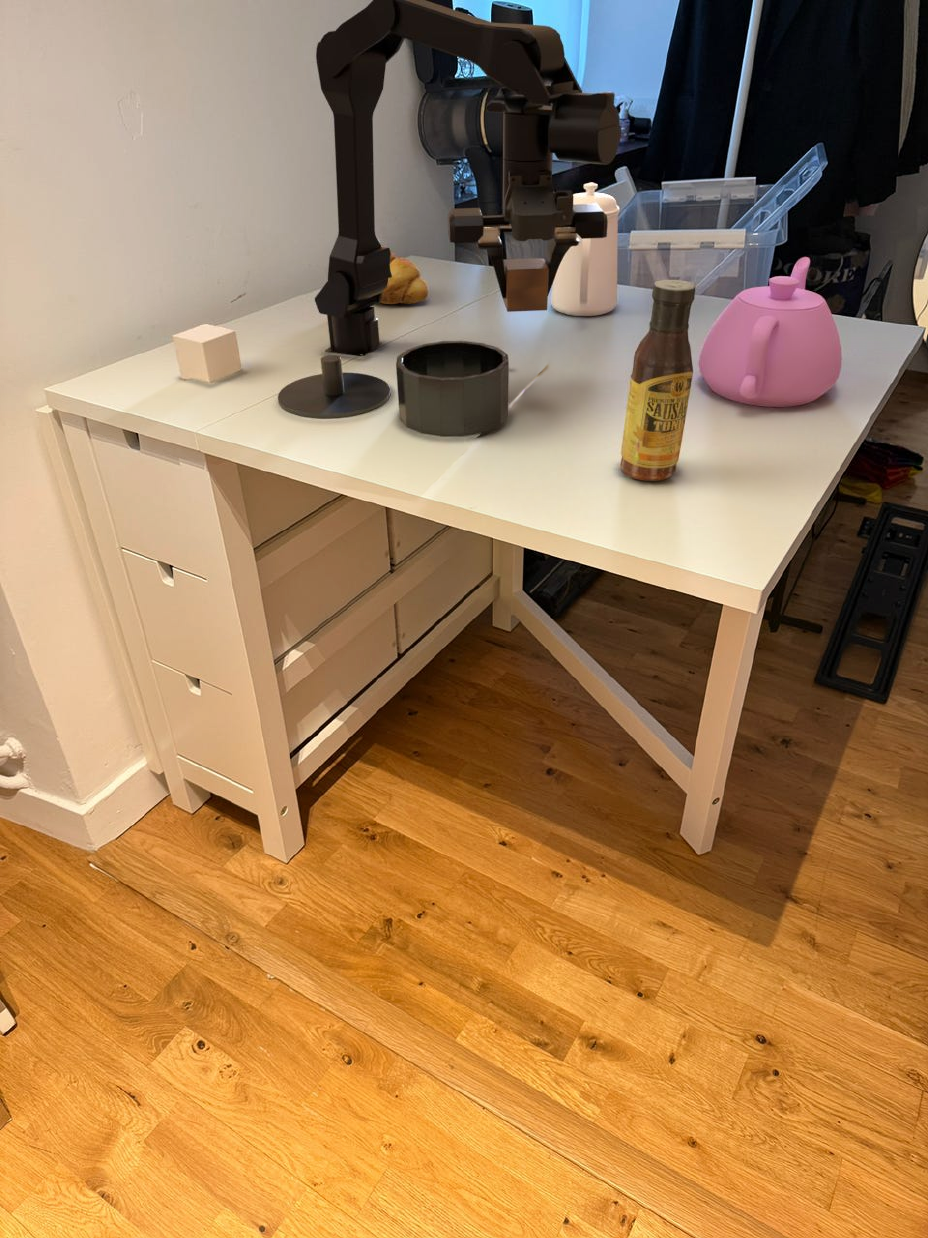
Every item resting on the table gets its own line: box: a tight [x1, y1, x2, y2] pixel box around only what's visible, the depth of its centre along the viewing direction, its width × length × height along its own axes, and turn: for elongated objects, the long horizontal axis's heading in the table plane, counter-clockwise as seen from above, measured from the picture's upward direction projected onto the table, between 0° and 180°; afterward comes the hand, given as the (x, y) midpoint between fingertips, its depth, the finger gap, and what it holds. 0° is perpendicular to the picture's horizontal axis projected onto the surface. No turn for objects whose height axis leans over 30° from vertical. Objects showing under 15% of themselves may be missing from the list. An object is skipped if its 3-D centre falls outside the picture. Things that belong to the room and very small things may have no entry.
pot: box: [395, 340, 510, 439], centre depth 106 cm, size 13×13×8 cm
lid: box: [277, 354, 392, 419], centre depth 112 cm, size 15×15×6 cm
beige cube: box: [171, 323, 243, 384], centre depth 121 cm, size 6×6×6 cm
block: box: [502, 257, 549, 313], centre depth 108 cm, size 5×5×5 cm
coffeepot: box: [550, 181, 620, 317], centre depth 139 cm, size 11×25×19 cm, turn 172°
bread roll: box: [380, 244, 429, 305], centre depth 148 cm, size 13×10×8 cm
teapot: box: [697, 256, 843, 408], centre depth 112 cm, size 25×18×14 cm
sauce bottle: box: [620, 279, 696, 482], centre depth 90 cm, size 7×6×20 cm
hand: (524, 296), depth 109 cm, fingers closed on block, 5 cm apart
